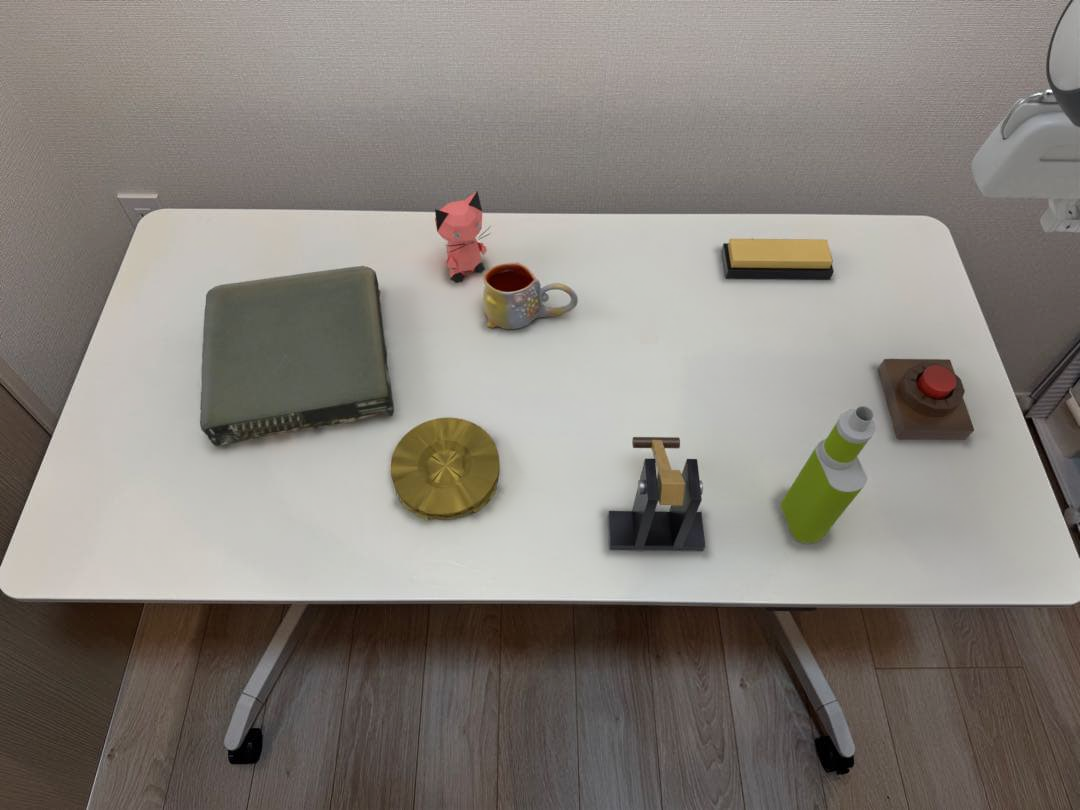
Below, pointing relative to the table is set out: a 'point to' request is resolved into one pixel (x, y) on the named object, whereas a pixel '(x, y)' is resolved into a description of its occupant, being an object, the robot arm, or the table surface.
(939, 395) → the button
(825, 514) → the vape
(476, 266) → the cat figurine
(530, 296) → the mug
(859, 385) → the table surface
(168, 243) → the table surface
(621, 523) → the switch bracket
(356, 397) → the network switch
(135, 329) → the table surface
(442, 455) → the gold round metal disc
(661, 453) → the switch lever
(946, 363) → the button block
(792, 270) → the whetstone on a base
